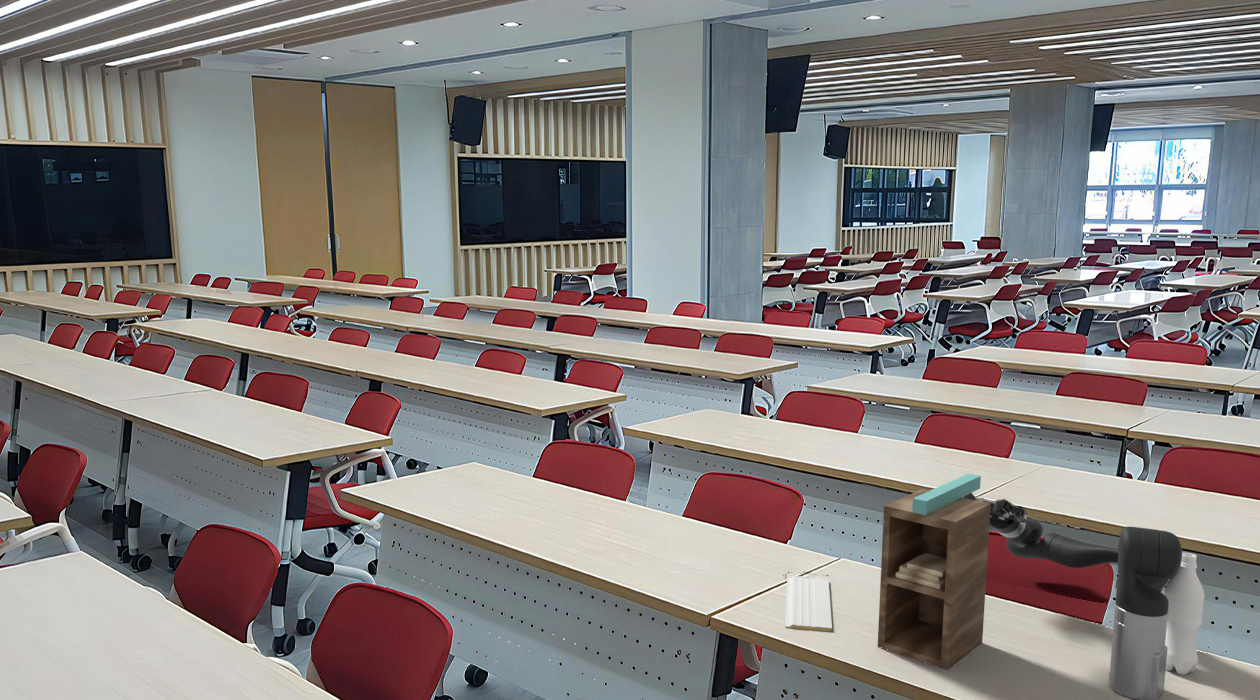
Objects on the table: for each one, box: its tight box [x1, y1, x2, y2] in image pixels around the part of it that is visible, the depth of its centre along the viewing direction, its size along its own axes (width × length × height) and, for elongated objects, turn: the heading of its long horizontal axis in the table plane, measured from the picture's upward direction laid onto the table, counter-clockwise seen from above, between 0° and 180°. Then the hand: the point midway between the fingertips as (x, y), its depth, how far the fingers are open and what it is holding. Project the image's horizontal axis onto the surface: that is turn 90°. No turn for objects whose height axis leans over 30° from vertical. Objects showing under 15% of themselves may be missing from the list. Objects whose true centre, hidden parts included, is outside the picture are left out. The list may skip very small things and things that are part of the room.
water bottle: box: [1164, 551, 1205, 675], centre depth 197 cm, size 7×7×25 cm
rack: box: [877, 488, 991, 671], centre depth 207 cm, size 16×18×32 cm
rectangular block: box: [912, 473, 982, 515], centre depth 209 cm, size 3×28×3 cm, turn 137°
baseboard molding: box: [782, 570, 833, 632], centre depth 232 cm, size 31×3×12 cm
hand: (985, 499), depth 225 cm, fingers open, 8 cm apart
